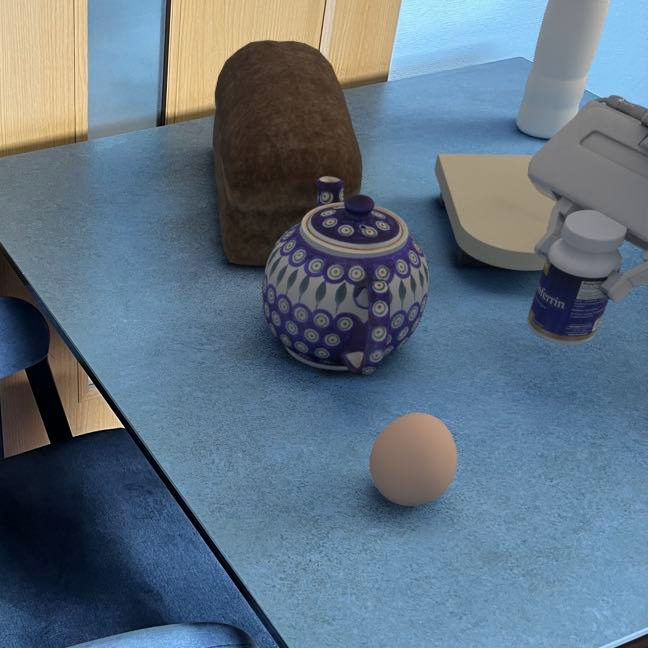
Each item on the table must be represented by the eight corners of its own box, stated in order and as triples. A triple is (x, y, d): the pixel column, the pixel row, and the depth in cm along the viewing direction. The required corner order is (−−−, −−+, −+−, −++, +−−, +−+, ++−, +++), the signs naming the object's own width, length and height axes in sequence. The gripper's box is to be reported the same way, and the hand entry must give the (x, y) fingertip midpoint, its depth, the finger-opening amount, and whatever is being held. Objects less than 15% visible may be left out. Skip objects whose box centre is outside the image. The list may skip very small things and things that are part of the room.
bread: (323, 144, 131) (340, 10, 120) (357, 275, 108) (383, 125, 97) (207, 144, 131) (214, 11, 120) (218, 275, 109) (227, 126, 97)
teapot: (440, 421, 90) (480, 271, 80) (270, 422, 91) (287, 273, 80) (389, 273, 108) (417, 134, 98) (247, 274, 109) (259, 136, 98)
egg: (355, 513, 82) (371, 436, 77) (370, 462, 87) (386, 386, 81) (440, 532, 81) (463, 455, 75) (451, 479, 85) (473, 402, 79)
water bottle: (565, 144, 129) (633, -82, 112) (508, 133, 132) (565, -89, 114) (577, 123, 133) (644, -97, 116) (522, 113, 136) (579, -104, 118)
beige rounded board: (428, 194, 120) (437, 153, 117) (534, 197, 120) (546, 155, 116) (458, 295, 105) (469, 251, 101) (579, 298, 104) (594, 254, 101)
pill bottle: (513, 316, 91) (545, 211, 84) (572, 307, 91) (608, 202, 84) (547, 352, 87) (583, 245, 80) (608, 342, 88) (649, 236, 80)
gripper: (589, 66, 85) (472, 205, 89) (812, 162, 73) (663, 320, 76) (610, 108, 90) (498, 239, 94) (823, 205, 77) (683, 352, 81)
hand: (574, 276), depth 85 cm, fingers closed on pill bottle, 6 cm apart
